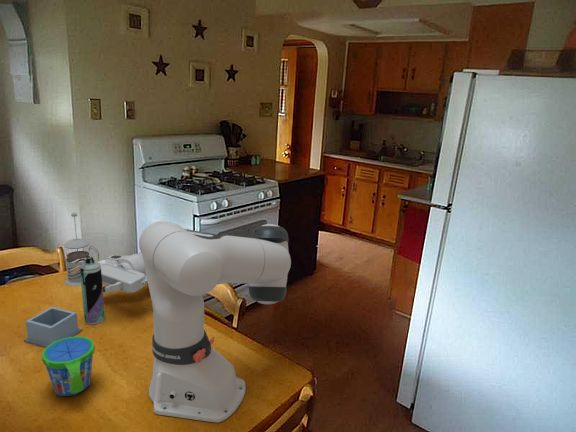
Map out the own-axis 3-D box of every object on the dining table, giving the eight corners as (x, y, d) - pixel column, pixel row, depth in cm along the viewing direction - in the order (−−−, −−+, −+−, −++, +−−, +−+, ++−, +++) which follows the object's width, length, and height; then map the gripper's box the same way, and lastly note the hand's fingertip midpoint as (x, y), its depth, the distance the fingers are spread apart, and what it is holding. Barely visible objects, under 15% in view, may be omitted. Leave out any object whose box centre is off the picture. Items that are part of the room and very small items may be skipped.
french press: (67, 275, 152) (60, 209, 145) (102, 272, 156) (97, 208, 148) (62, 287, 143) (54, 217, 136) (99, 284, 147) (93, 216, 140)
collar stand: (82, 330, 119) (80, 312, 117) (53, 350, 110) (51, 330, 108) (54, 323, 122) (52, 305, 120) (23, 341, 112) (21, 322, 111)
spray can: (97, 326, 122) (92, 262, 116) (80, 323, 122) (74, 260, 117) (108, 316, 127) (104, 255, 121) (92, 314, 128) (87, 253, 122)
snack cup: (46, 372, 101) (41, 336, 98) (94, 361, 106) (91, 326, 103) (46, 416, 88) (41, 375, 85) (101, 401, 93) (97, 362, 90)
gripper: (155, 287, 130) (119, 305, 118) (109, 271, 139) (71, 287, 127) (154, 268, 128) (117, 285, 117) (108, 254, 137) (69, 268, 125)
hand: (93, 286), depth 122 cm, fingers open, 8 cm apart
